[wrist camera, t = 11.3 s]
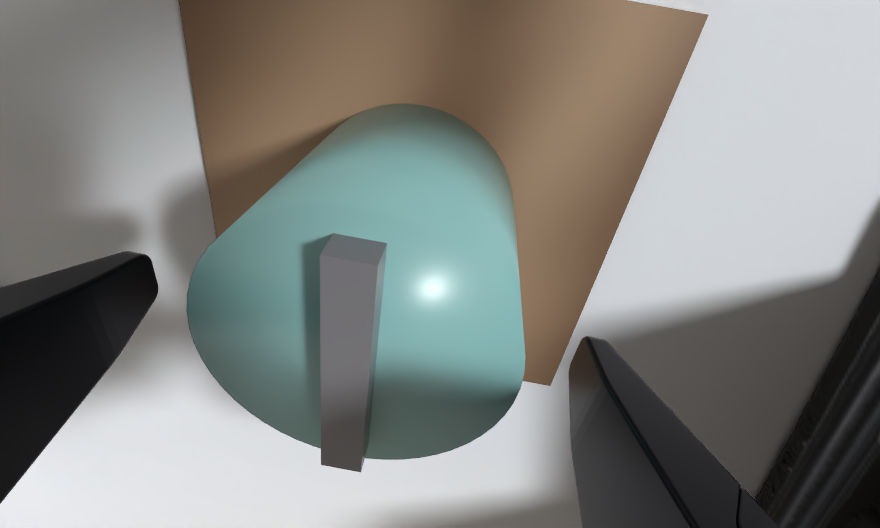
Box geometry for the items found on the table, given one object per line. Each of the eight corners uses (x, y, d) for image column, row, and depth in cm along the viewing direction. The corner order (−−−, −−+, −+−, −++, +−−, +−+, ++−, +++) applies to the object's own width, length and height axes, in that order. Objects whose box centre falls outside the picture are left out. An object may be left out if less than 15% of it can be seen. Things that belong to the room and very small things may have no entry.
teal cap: (489, 307, 14) (485, 509, 9) (310, 274, 14) (197, 454, 9) (538, 126, 11) (579, 270, 6) (307, 84, 11) (122, 186, 6)
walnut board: (703, 14, 10) (708, 15, 9) (549, 379, 16) (549, 385, 16) (174, -81, 10) (165, -82, 10) (234, 320, 16) (230, 325, 16)
